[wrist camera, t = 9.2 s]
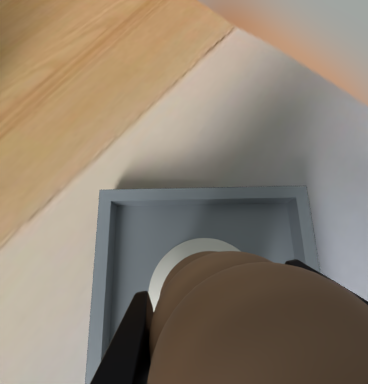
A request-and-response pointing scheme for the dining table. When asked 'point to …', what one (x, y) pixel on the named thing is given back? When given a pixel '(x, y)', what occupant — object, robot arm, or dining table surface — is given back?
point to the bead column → (255, 325)
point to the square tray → (185, 241)
